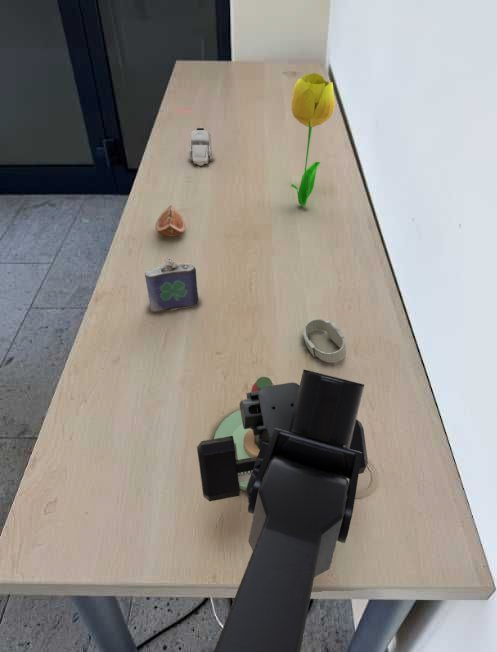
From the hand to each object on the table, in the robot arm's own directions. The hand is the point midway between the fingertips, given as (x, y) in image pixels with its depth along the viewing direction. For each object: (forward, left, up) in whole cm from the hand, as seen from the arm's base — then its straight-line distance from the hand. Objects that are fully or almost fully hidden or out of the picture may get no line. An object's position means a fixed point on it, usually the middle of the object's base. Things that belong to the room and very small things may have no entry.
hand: (268, 441), depth 63 cm
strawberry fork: (+4, +1, -7) cm, 9 cm away
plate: (+4, +1, -9) cm, 10 cm away
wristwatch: (+25, -9, -9) cm, 28 cm away
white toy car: (+94, +22, -9) cm, 97 cm away
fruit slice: (+58, +24, -9) cm, 63 cm away
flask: (+34, +19, -9) cm, 40 cm away
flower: (+72, -6, -9) cm, 73 cm away
